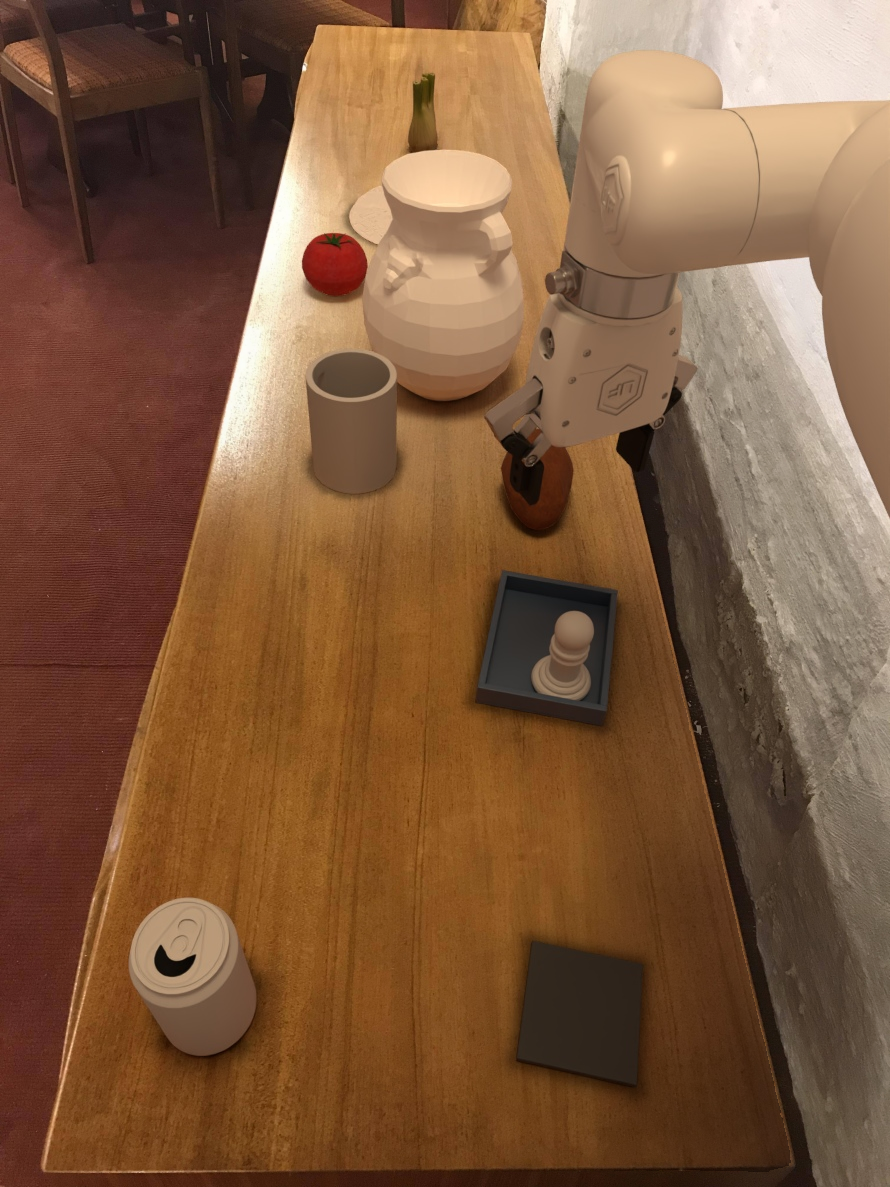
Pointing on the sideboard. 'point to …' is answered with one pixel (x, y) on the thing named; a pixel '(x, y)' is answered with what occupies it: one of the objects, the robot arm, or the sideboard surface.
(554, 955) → the mat
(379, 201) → the plaque
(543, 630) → the tray
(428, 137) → the fennel bulb
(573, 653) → the chess piece
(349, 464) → the cup
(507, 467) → the potato
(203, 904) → the beverage can
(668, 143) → the robot arm
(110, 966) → the sideboard surface
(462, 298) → the white vase
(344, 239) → the tomato
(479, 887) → the sideboard surface
